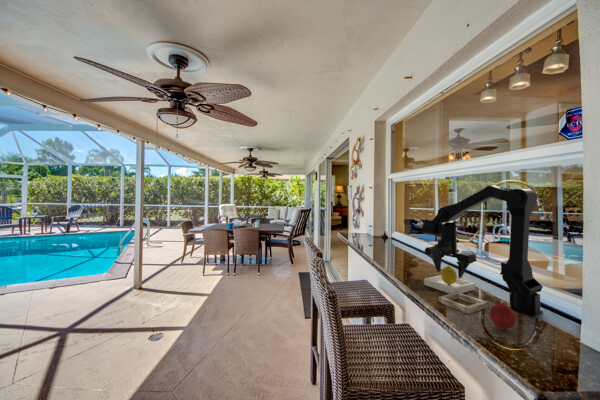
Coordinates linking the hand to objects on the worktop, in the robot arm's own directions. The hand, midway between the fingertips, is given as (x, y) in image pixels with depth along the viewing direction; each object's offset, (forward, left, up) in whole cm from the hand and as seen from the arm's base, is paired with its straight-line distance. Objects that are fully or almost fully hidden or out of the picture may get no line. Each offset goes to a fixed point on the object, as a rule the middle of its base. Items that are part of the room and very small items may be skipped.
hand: (448, 274), depth 102 cm
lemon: (0, 0, -4) cm, 5 cm away
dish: (0, 0, -5) cm, 5 cm away
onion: (-28, +18, -5) cm, 34 cm away
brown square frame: (-13, +12, -5) cm, 18 cm away
